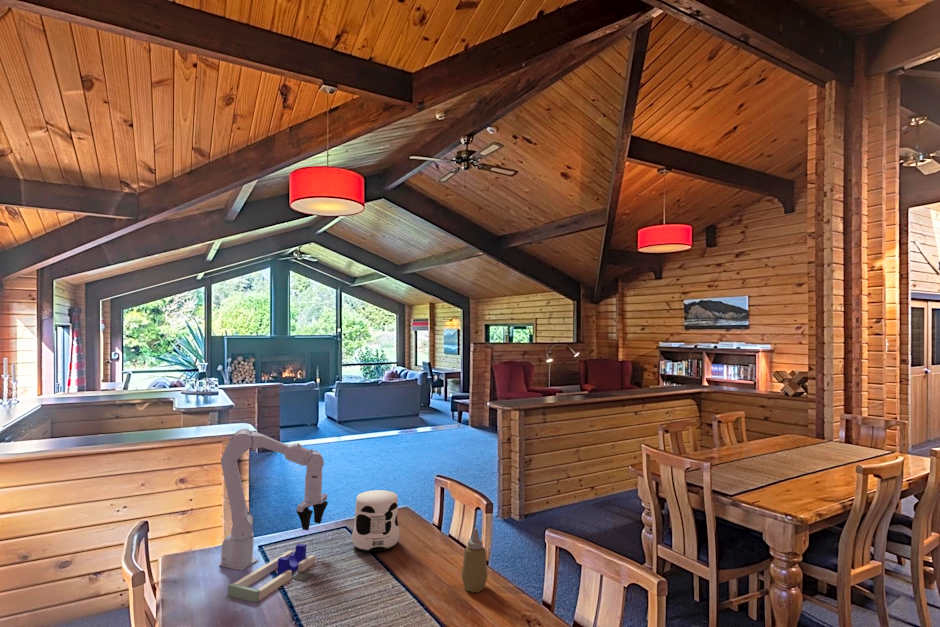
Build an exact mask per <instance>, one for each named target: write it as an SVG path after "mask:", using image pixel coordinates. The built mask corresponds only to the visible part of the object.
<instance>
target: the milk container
mask: <svg viewBox="0 0 940 627" xmlns="http://www.w3.org/2000/svg"><path fill="white" fill-rule="evenodd" d="M398 499H399V498H398V494H397V493H396V492H393V491H391V490H390V491H389V490H386V489H385V490H384V489H380V490H379V489H377V490H368V491H364V492H361V493H359V494H358V495H356V500H355V508H354V512H355V513H354V516H355V517H354V523H353V526H352V531H351V540H352V544H353V546H354V547H355V548H357V549H358V550H360V551H364V552H382V551H386V550H389V549H391V548H392V547H394V546H395V545H396V544H397V543H398V541H399V537H400V525H399V521H398V512H399V510H398V509H399V507H398V505H399V500H398Z"/></svg>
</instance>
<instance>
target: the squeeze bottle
mask: <svg viewBox="0 0 940 627" xmlns="http://www.w3.org/2000/svg"><path fill="white" fill-rule="evenodd" d="M472 531H473V532H472V535H471V538H470V539H468V540H467V546H466V547H465V548H464V555H463V561H462V570H461V579H462V582H463V583H462V584H463V585H464V586H463V587H464V589H465V591H466V592H469V591H471V592H470V593H474V592H476V593H479V592H478V591H481V590H482V589H483V590H484V588H485V586H486V583H487V579H488V567H487V552H486V548H485V547H484V546H483V545H484V541H483V540H482V539H481V538H480V535H479V530H478V528H473V530H472ZM483 590H482V591H483ZM482 591H481V592H482Z"/></svg>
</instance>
